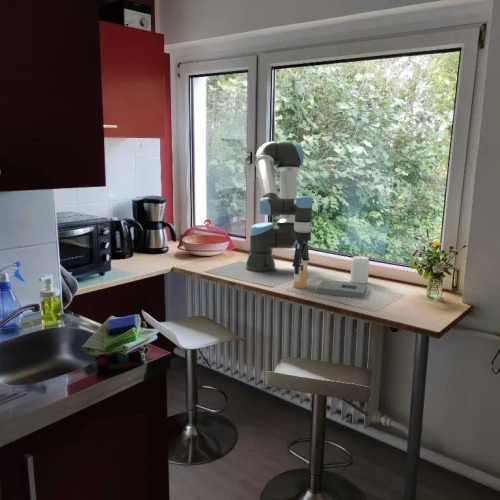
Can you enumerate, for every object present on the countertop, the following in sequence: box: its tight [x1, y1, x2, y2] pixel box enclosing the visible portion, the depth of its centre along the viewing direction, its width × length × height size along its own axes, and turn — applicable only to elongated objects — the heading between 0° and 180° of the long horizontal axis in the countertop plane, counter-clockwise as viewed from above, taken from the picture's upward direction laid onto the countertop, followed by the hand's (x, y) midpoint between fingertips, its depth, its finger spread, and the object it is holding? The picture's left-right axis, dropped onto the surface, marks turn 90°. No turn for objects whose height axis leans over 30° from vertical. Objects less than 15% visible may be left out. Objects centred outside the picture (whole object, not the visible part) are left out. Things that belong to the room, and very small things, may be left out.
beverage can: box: [350, 255, 370, 284], centre depth 235 cm, size 8×8×12 cm
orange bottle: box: [292, 264, 308, 289], centre depth 225 cm, size 5×4×10 cm
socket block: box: [315, 279, 368, 299], centre depth 220 cm, size 20×14×2 cm
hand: (300, 277), depth 225 cm, fingers open, 13 cm apart
